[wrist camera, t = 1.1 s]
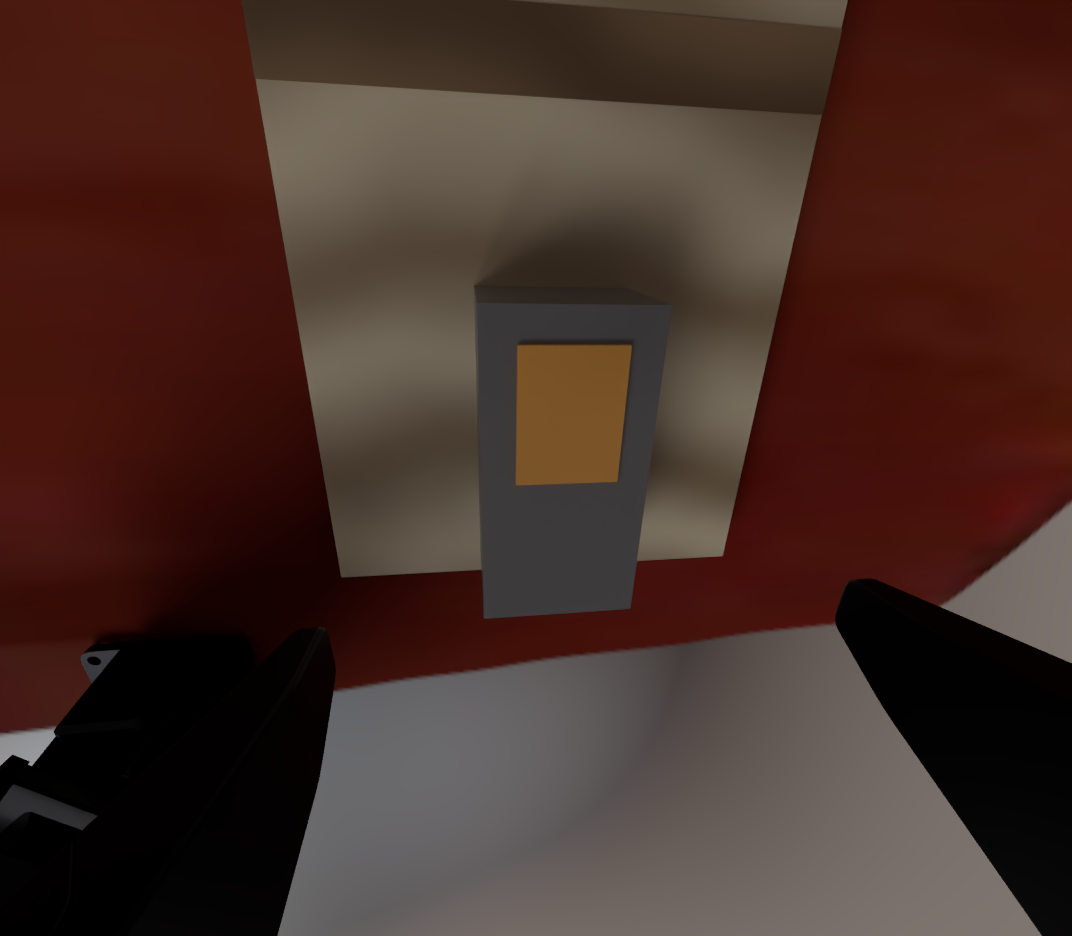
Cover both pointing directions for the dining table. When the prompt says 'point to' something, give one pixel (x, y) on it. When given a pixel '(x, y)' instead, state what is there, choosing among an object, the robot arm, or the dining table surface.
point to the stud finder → (564, 443)
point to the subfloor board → (531, 227)
